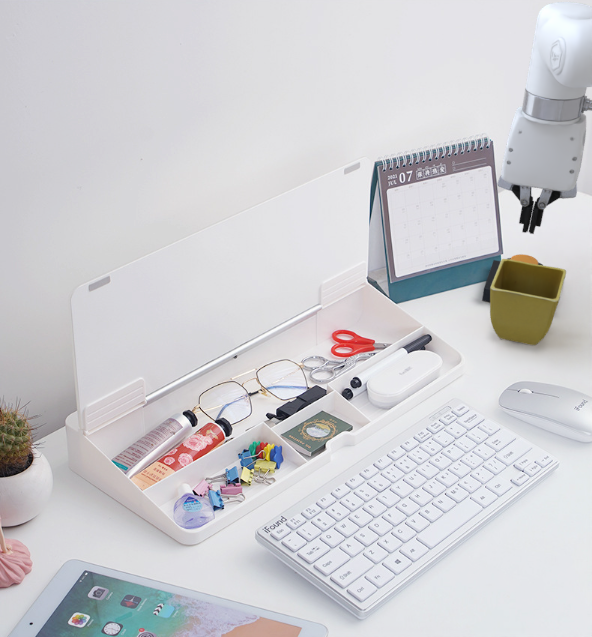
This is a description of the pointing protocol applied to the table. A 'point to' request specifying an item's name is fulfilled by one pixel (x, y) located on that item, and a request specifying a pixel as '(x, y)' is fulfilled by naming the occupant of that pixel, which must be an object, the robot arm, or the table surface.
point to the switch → (491, 280)
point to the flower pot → (524, 300)
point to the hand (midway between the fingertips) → (529, 228)
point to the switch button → (524, 259)
